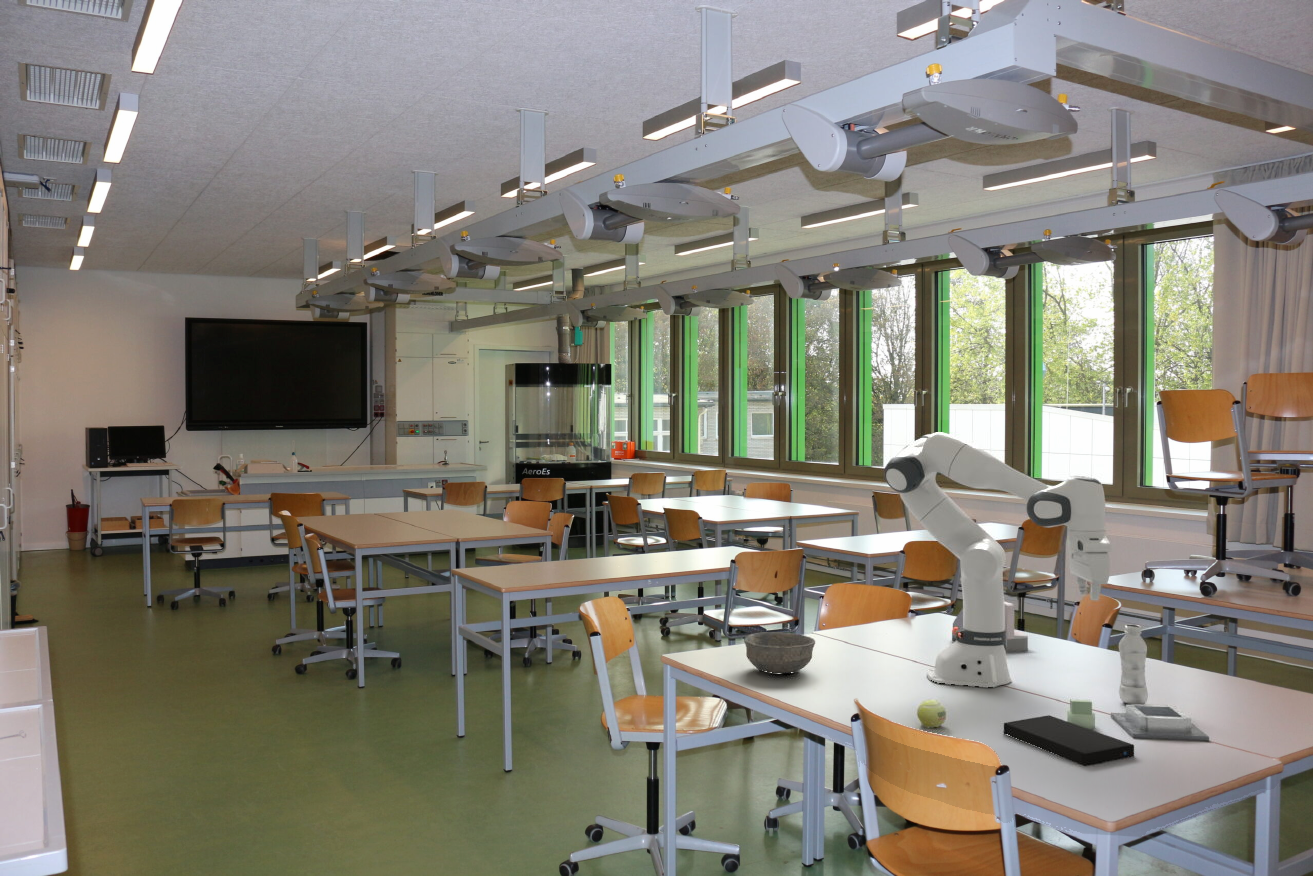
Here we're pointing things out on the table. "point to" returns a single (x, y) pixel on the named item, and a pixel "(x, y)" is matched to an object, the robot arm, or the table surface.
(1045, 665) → the table surface
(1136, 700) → the plastic bottle
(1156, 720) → the cap socket
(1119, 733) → the table surface
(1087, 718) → the stepped sage green block
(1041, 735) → the external hard drive
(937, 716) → the tennis ball
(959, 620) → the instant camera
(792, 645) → the bowl
